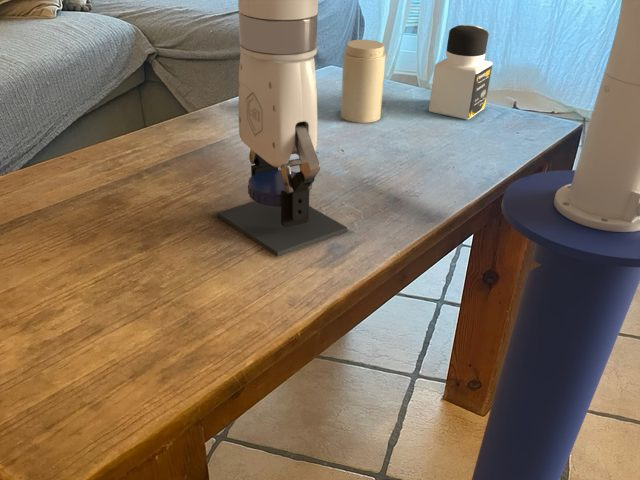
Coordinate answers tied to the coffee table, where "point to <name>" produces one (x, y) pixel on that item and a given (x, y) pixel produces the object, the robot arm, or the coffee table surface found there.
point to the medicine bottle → (462, 74)
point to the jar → (363, 81)
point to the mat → (279, 227)
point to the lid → (267, 187)
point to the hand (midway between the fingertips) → (279, 209)
